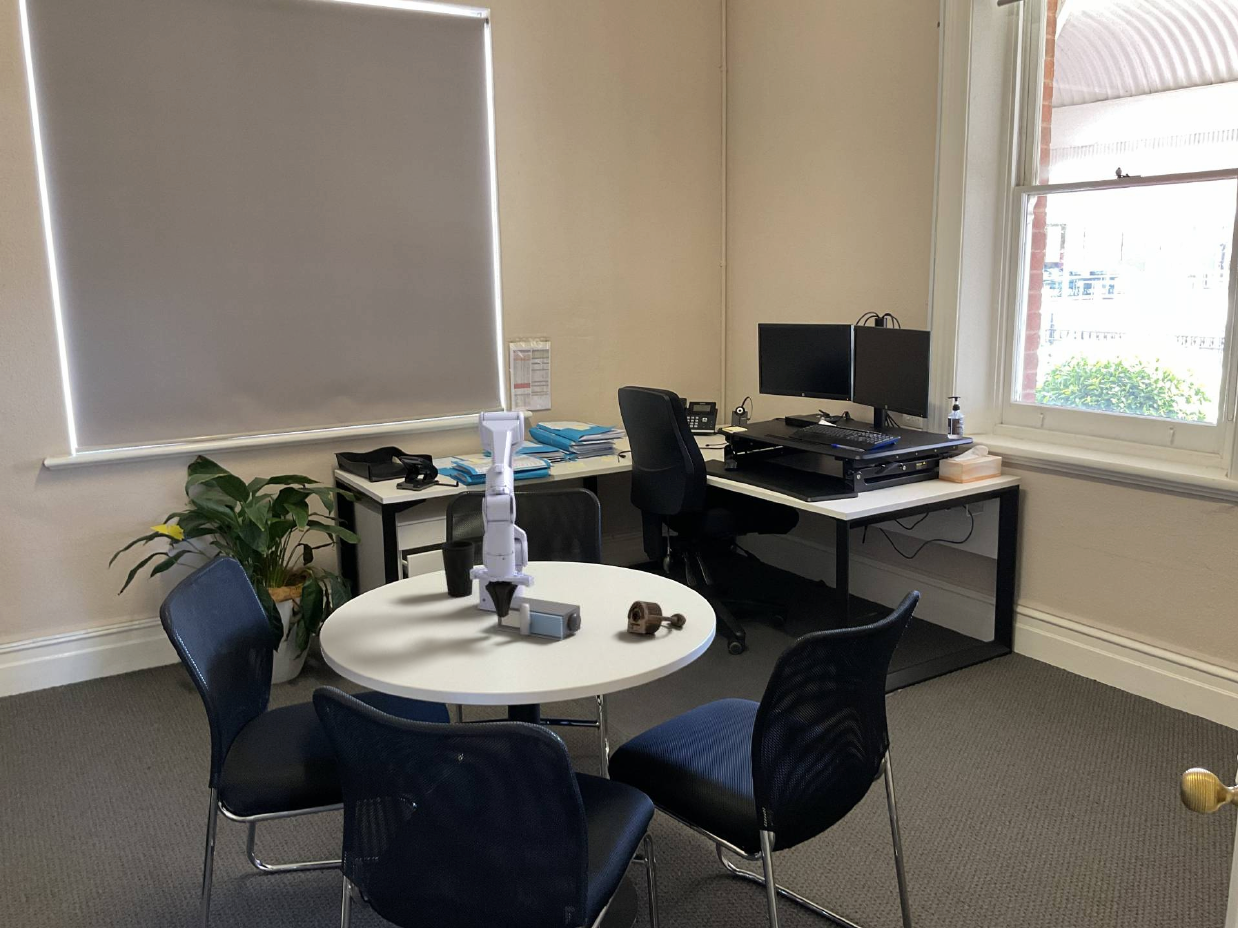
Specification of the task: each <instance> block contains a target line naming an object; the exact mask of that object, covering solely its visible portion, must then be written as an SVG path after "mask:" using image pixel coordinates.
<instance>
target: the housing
mask: <svg viewBox="0 0 1238 928" xmlns="http://www.w3.org/2000/svg"><path fill="white" fill-rule="evenodd" d="M523 603H527V604H529V612H533V613H540V614H546V615H553V616H559V617H562V624H563V637H555V636H550V635H544V634H538V633H532V632H530V634H527V635H526V636H532V637H537V638H538V637H539V638H543V639H548V640H549V639H550V640H554V641H562V640H564V639H566V638H567V637H569V636H570V635H572V634H574V633H575V632H578V631H579V630H580V629H581V625H582V617H581V605H578V604H572V603H571V604H570V603H564V602H558V601H552V600H544V599H538V598H531V597H524V596H523V597H519V596H515V597H513V598H512V600H511V604H510V608H509V614H508V616H506V617H504V618H501V617H498V616H497V626H496V627H495V628H494V629H495V630H496V631H502V632H507V633H514V634H520V609H519V605H520V604H523ZM520 635H521V634H520Z"/></svg>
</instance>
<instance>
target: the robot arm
mask: <svg viewBox="0 0 1238 928" xmlns="http://www.w3.org/2000/svg"><path fill="white" fill-rule="evenodd" d="M524 418H525V416H524V413H523V412H522V410H520V411H519V410H518V411H497V412H496V411H494V412H491V411H490V412H485V411H481V412H480V413H479V414H478V436H479V439H480V445H481V446H482V450H485V451H486V452H489V453H490V454H491V458H490V459H491V466H490V467H489V468H488V469H487V470H486V473H485V493H484V495H485V497H483V498H482V504H481V505H482V506H481V507H482V508H481V509H482V510H481V511H482V519H483V524H484V532H485V533H484V535H483V539H482V540H483V542H482V563H483V568H481V567H480V568H479V567H473V569H472V570H470V579H473V581H474V580H478V591H479V595H478V599H479V605H478V606H477V609H480V610H484V611H491V612H496V615H497V618H498V617H501V618H504V617H506V616H508V614H509V608H510V604H511V600H512V598H513V597H515V596H519V597H524V586H525V588H531V587H533V586H535V576H534V575H531V574H526V573H524V572H523V568H526V567H527V565H528V557H529V555H528V551H529V550H528V549H529V548H528V541H527V540H528V538H527V534H526V531H524V530H523V529H522V528H520V527H518V525H516V524H515V521H516V515H517V513H516V509H517V507H516V499H515V492H514V491H515V490H514V480H515V479H514V459H515V455H516V452H518V451H520V450H522V449H523V448H524V447H523V446H524V444H525V439H524V437H525V420H524Z"/></svg>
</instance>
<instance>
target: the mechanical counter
mask: <svg viewBox="0 0 1238 928" xmlns="http://www.w3.org/2000/svg"><path fill="white" fill-rule="evenodd" d="M662 622H667V623H670V624H671V625H673V626H675V627H679V628H681V627H684V625H686V622H687V618H686V617H685V615H684V614H681V613H673V614H672V615H670V616H665V615H663V610H662V607H661V605H660V604H659V603H657V602H652V601H643V600H635V601H634V602H633V603H632V604H631V606H630V607H629V609H628V613H627V629H626V631H627V632H629V633H637V634H638V633H640V634H646V633H648V634H654V633H657V632H658V631H659V630H660V628H661V626H662V624H663V623H662Z"/></svg>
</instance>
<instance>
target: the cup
mask: <svg viewBox="0 0 1238 928" xmlns="http://www.w3.org/2000/svg"><path fill="white" fill-rule="evenodd" d="M440 547H441V552H442V553H441V554H442V559H443V560H442V561H443V568H444V574H445V580H446V581H445V582H446V589H447V594H448V596H449V597H451V598H466V597H469V596H471V595H472V594H473V585H474V584H473V581H474V580H473V579H470V570H472V569H474V564H475V563H474V562H475V560H474V559H475V543H474V542H473V541H470V540H460V539H459V540H451V541H446V542H443V543H442V544H441V546H440Z"/></svg>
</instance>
